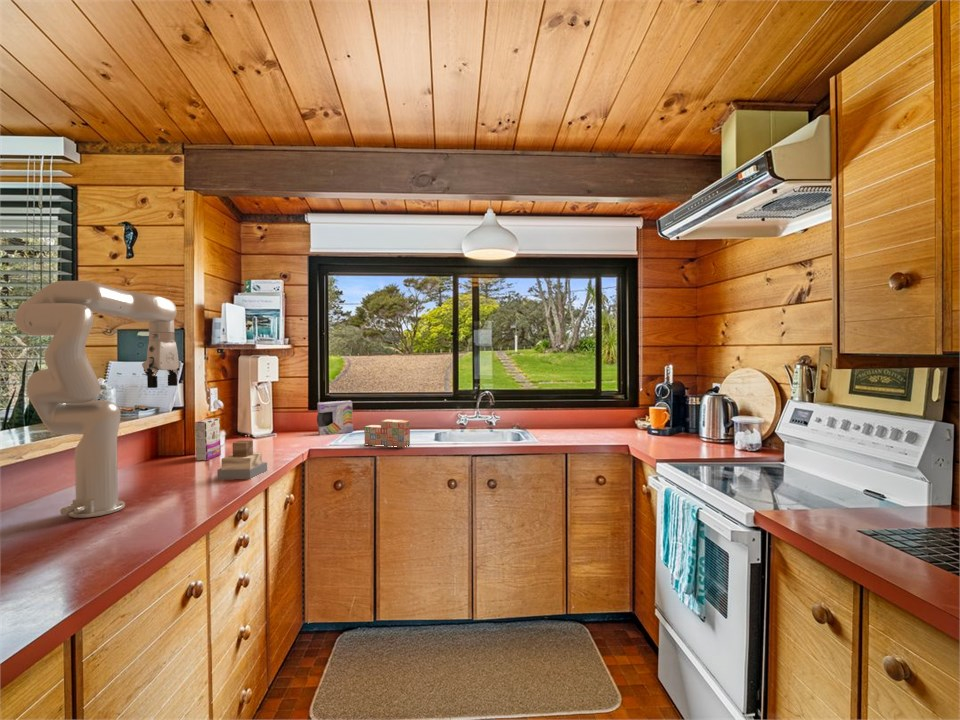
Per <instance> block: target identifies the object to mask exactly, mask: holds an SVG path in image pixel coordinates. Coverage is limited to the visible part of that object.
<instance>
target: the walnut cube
mask: <svg viewBox="0 0 960 720" xmlns="http://www.w3.org/2000/svg"><path fill="white" fill-rule="evenodd" d="M253 453H254V440H253V439H252V440H250V439H249V440H245V439H244V440H242V439H241V440H237V441H234V442H232V454H233V457H247V456H249V455H252V454H253Z"/></svg>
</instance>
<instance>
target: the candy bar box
mask: <svg viewBox="0 0 960 720" xmlns="http://www.w3.org/2000/svg"><path fill="white" fill-rule="evenodd" d="M220 419H221V418H217V417H216V418H212V417H210V418H206V419H203V420H199V421H195V422H194V434H195V435H194V438H195V460H207V461H210V460H212V459H214V457H215V458H217V457H219V455H220V456H221V455H222V453H221V451H222V449H221V426H220V425H221V423H220V422H221V421H220ZM209 459H210V460H209Z"/></svg>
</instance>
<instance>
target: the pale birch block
mask: <svg viewBox="0 0 960 720" xmlns="http://www.w3.org/2000/svg"><path fill="white" fill-rule="evenodd" d="M262 456H263V455H262V452H254V451H253V454H252V455H249V456H247V457H233V453H231V454H229V455H227V456H224V457H222V458H221V468H222V470H242V469H252V468H254V467H255V466H257V465H259V464H261V463H262V459H263V458H262Z"/></svg>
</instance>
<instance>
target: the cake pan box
mask: <svg viewBox="0 0 960 720" xmlns="http://www.w3.org/2000/svg"><path fill="white" fill-rule="evenodd" d="M316 404H317V416H316V423H317V431H318V435H319V436H326V435H327V436H328V435H336V434H344V433H353V432H354V423H353V422H354V421H353V420H354V418H353V414H354V413H353V401H352V400H341V401H340V400H336V401H325V402H317V403H316Z"/></svg>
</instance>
